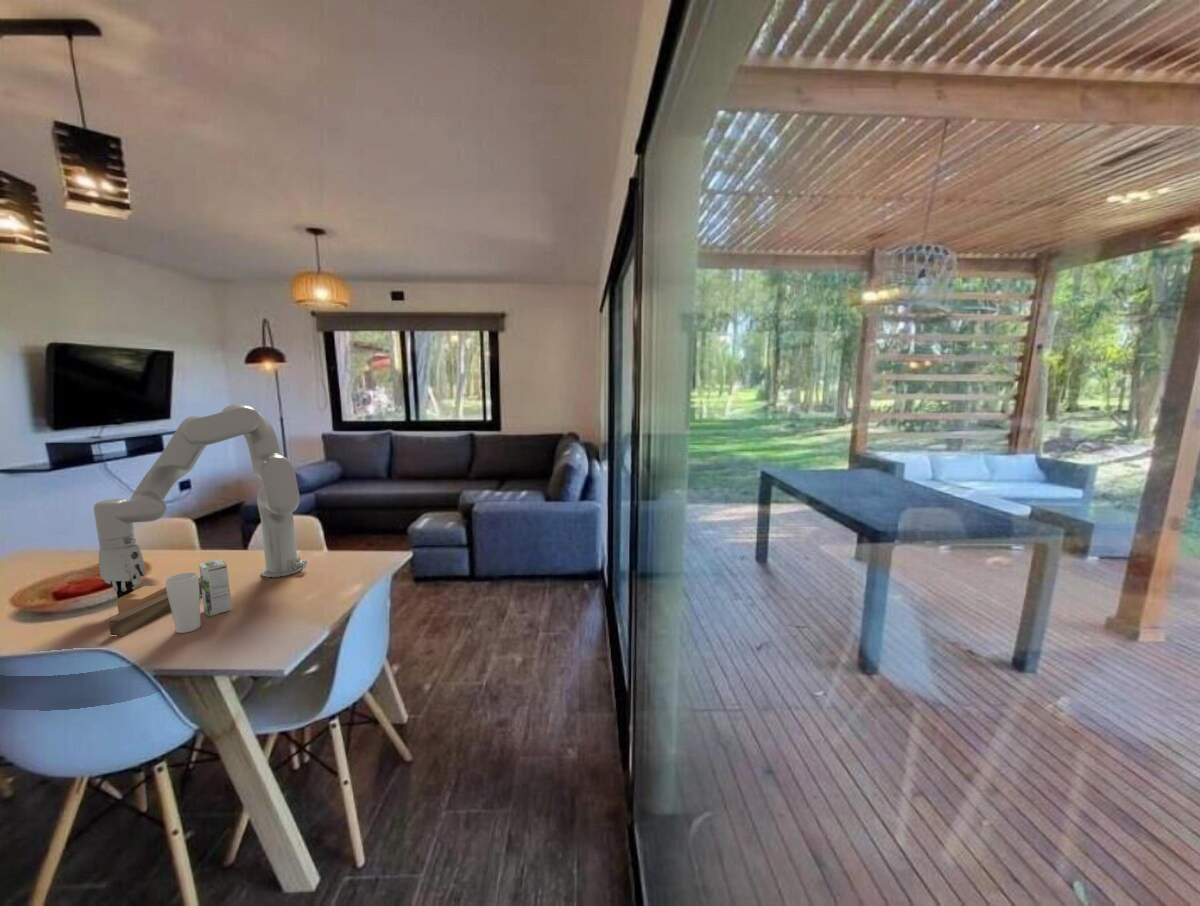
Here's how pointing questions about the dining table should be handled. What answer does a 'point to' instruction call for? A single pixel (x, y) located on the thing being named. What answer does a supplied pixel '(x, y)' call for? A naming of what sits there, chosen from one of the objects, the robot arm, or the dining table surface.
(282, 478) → the robot arm
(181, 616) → the drinking glass
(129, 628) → the walnut board
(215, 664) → the dining table surface
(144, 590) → the tan block
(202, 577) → the syrup box
